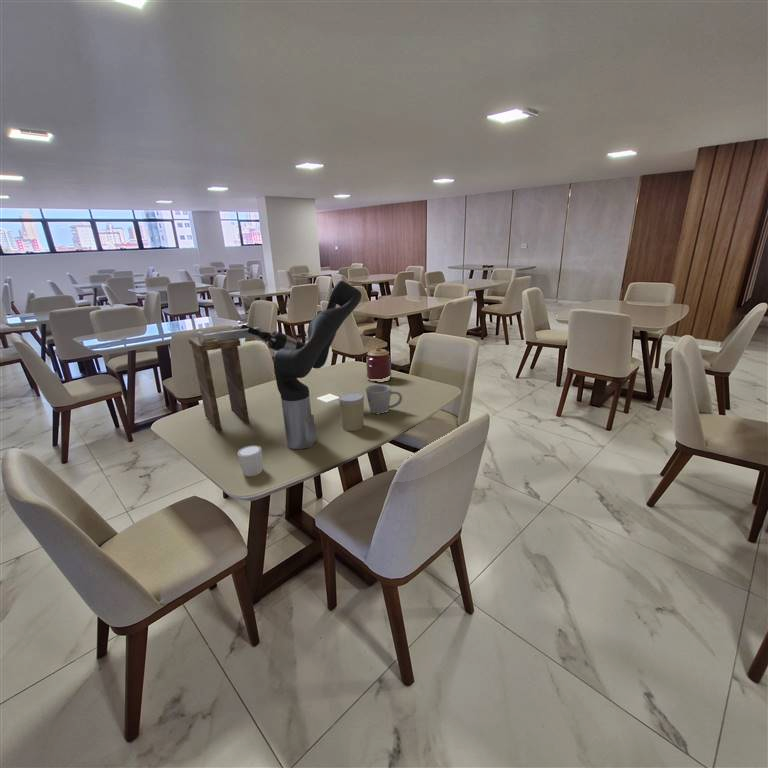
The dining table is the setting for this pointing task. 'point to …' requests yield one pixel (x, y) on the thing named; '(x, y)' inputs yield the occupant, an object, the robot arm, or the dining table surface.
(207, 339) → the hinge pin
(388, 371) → the canister
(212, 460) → the dining table surface
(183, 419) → the dining table surface
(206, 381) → the walnut stand
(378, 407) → the mug
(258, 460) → the white ribbed cup
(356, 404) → the coffee cup
